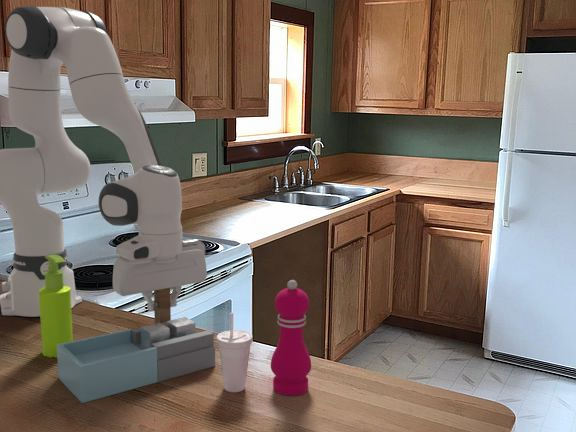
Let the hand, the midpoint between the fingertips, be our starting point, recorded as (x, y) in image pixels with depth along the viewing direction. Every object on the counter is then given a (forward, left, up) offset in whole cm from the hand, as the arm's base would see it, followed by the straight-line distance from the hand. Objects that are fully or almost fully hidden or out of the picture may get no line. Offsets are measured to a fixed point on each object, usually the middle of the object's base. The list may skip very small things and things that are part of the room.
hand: (162, 308), depth 134 cm
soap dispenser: (-6, -20, -7) cm, 22 cm away
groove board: (+12, -4, -7) cm, 15 cm away
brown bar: (0, 0, -7) cm, 7 cm away
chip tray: (+12, -17, -7) cm, 22 cm away
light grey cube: (+12, -7, -3) cm, 14 cm away
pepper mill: (+34, +8, -7) cm, 36 cm away
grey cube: (+12, -2, -3) cm, 13 cm away
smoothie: (+28, 0, -7) cm, 29 cm away
